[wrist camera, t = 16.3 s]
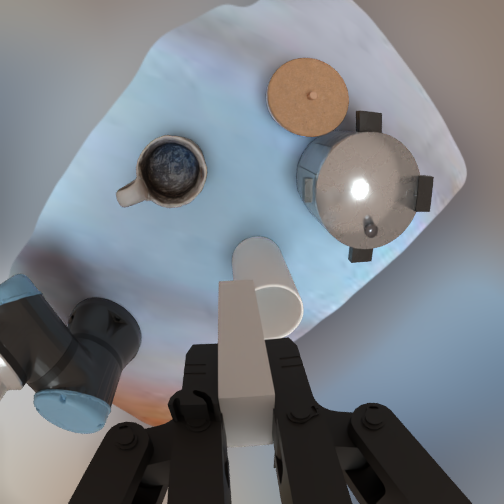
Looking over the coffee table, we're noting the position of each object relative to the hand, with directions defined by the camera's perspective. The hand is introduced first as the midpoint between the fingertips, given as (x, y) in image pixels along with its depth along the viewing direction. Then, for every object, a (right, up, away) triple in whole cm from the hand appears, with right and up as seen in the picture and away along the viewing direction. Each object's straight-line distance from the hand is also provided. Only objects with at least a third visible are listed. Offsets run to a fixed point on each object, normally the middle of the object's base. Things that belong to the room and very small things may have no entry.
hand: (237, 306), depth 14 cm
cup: (+1, +1, +37) cm, 37 cm away
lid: (+17, +10, +23) cm, 31 cm away
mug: (-12, +15, +30) cm, 36 cm away
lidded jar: (+7, +25, +28) cm, 38 cm away
